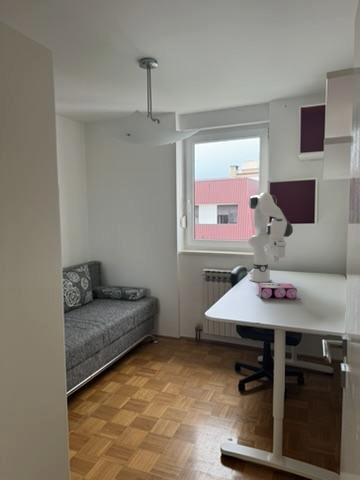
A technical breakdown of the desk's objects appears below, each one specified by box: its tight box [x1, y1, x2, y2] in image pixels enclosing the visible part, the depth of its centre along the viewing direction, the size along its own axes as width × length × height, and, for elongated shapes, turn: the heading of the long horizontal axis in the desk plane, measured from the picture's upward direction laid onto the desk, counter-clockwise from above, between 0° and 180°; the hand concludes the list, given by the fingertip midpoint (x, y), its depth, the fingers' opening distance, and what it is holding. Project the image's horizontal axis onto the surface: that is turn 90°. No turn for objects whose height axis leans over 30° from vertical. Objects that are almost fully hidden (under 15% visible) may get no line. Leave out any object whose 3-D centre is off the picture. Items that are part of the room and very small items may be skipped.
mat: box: [255, 293, 301, 301], centre depth 221 cm, size 14×26×1 cm, turn 94°
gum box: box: [258, 282, 298, 300], centre depth 221 cm, size 24×8×14 cm
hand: (276, 262), depth 224 cm, fingers closed
